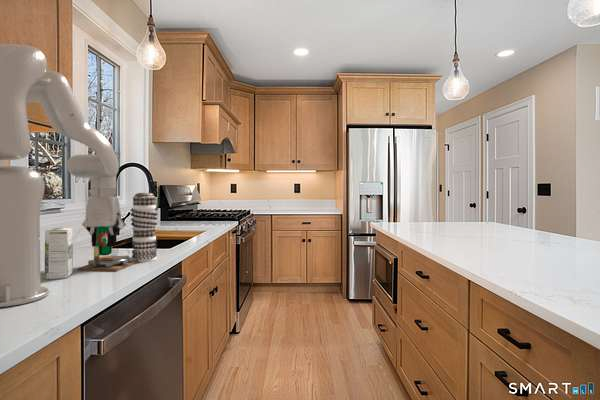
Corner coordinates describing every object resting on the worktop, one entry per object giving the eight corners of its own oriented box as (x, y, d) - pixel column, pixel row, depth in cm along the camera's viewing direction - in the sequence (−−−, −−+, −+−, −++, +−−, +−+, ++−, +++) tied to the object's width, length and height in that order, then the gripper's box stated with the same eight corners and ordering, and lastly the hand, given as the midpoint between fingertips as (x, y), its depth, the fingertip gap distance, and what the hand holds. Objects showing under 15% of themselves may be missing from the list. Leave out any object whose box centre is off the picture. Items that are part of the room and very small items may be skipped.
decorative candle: (139, 256, 129) (138, 192, 128) (162, 257, 129) (162, 193, 128) (125, 261, 120) (124, 193, 119) (150, 262, 120) (149, 193, 119)
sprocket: (87, 268, 105) (87, 249, 105) (89, 260, 116) (89, 243, 116) (134, 264, 112) (134, 246, 111) (131, 257, 123) (131, 240, 123)
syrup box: (50, 275, 101) (50, 227, 100) (73, 273, 103) (73, 227, 103) (44, 280, 95) (43, 230, 95) (68, 278, 98) (68, 229, 97)
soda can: (101, 252, 117) (104, 218, 117) (114, 253, 117) (117, 219, 116) (91, 254, 112) (93, 219, 112) (104, 256, 112) (107, 221, 111)
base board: (116, 271, 106) (116, 268, 106) (77, 270, 107) (77, 268, 107) (138, 262, 119) (138, 260, 119) (103, 261, 120) (103, 259, 120)
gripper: (71, 193, 111) (72, 247, 111) (121, 193, 110) (121, 248, 110) (87, 193, 118) (87, 243, 119) (133, 193, 117) (134, 244, 118)
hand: (104, 245), depth 114 cm, fingers closed on soda can, 5 cm apart
